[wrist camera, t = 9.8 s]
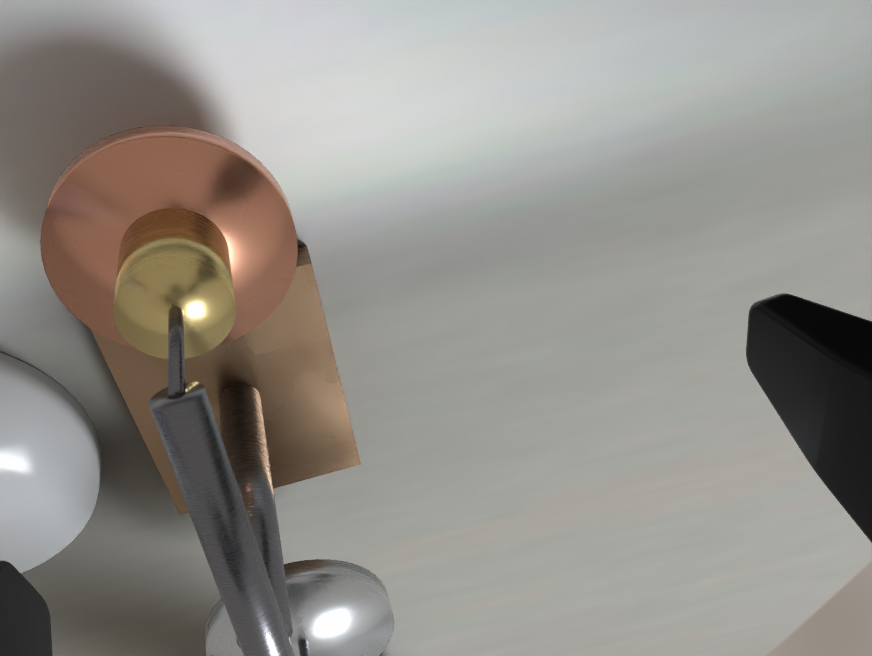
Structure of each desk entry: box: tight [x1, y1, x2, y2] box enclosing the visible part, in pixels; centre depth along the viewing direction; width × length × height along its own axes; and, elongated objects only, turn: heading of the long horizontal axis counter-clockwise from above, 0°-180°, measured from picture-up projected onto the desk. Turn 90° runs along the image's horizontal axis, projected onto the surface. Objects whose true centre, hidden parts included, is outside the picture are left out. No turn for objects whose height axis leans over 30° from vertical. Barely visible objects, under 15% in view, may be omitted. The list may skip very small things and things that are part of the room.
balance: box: [40, 125, 394, 656], centre depth 20 cm, size 18×6×11 cm, turn 6°
